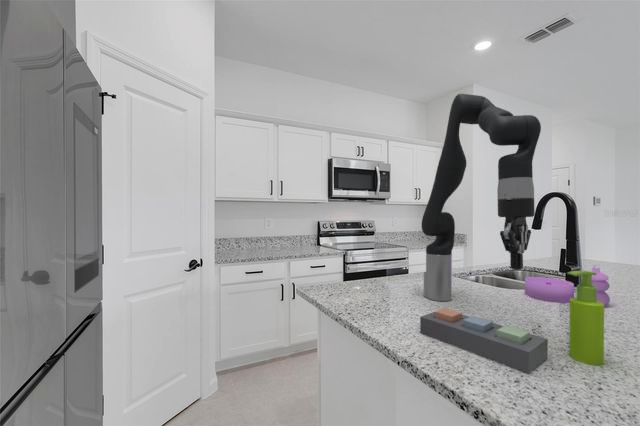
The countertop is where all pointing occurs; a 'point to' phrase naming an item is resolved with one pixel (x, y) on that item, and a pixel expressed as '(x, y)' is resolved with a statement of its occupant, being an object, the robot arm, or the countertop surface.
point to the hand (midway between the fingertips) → (516, 268)
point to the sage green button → (513, 335)
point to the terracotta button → (448, 315)
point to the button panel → (487, 343)
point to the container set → (564, 288)
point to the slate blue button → (478, 324)
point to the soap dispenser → (586, 322)
